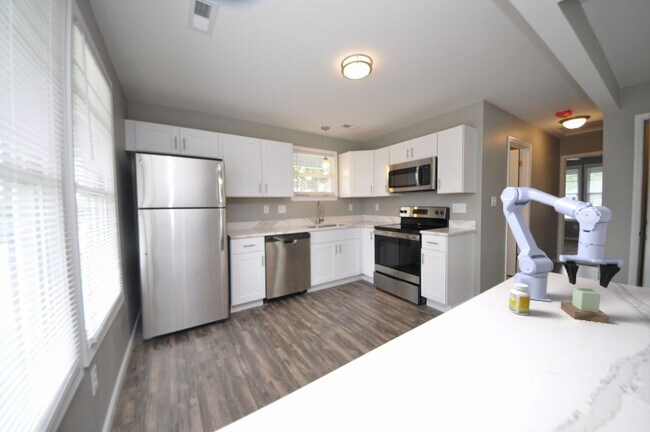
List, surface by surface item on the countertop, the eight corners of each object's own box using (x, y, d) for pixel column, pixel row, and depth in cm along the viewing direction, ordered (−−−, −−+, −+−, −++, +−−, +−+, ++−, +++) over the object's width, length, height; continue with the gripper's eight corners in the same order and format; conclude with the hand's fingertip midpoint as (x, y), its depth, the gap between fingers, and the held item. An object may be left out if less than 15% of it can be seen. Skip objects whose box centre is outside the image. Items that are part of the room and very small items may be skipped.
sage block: (581, 310, 79) (582, 292, 78) (572, 304, 83) (573, 287, 82) (598, 312, 77) (600, 293, 77) (588, 306, 81) (590, 288, 81)
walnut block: (574, 320, 78) (575, 311, 78) (560, 309, 86) (561, 301, 85) (607, 325, 75) (608, 315, 75) (590, 313, 83) (591, 304, 82)
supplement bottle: (506, 311, 84) (508, 284, 83) (511, 306, 87) (512, 280, 86) (526, 317, 79) (528, 288, 78) (530, 312, 83) (532, 284, 82)
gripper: (569, 244, 77) (565, 286, 78) (632, 248, 72) (628, 292, 73) (557, 240, 83) (554, 279, 85) (615, 243, 78) (611, 284, 79)
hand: (587, 285), depth 79 cm, fingers open, 7 cm apart
